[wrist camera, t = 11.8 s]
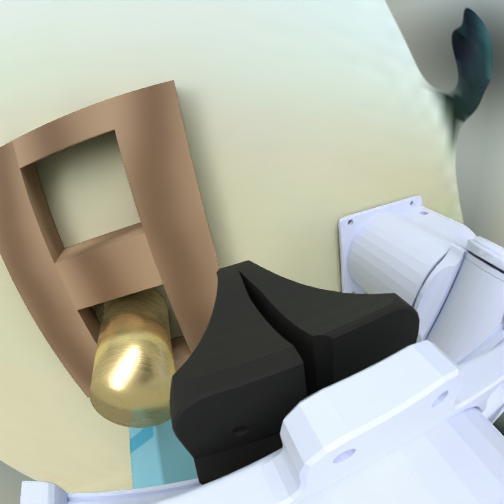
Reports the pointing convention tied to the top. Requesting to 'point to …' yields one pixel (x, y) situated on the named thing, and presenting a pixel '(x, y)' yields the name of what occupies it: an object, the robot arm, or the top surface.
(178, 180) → the jig plate
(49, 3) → the top surface
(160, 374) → the brass peg
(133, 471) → the data package
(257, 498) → the robot arm
